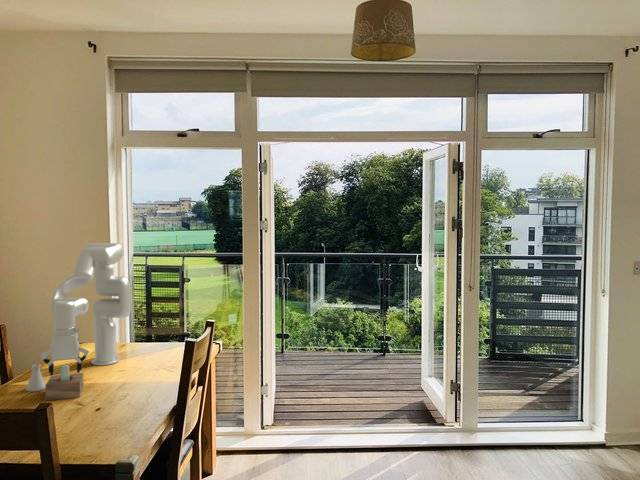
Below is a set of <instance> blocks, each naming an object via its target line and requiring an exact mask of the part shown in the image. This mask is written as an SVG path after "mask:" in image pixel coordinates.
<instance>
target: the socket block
mask: <svg viewBox="0 0 640 480" xmlns="http://www.w3.org/2000/svg"><path fill="white" fill-rule="evenodd" d="M69 378H70V380H68V381H60V374H53V375H50V377H49V379H48V380H47V382H46V383H45V384H46V388H45V401H52V400H61V399H62V400H63V399H73V398H80V397H81V394H82V392H83V389H84V372H79V373H77V372H76V373H69Z"/></svg>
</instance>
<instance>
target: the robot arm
mask: <svg viewBox="0 0 640 480" xmlns="http://www.w3.org/2000/svg"><path fill="white" fill-rule="evenodd" d="M123 256H124V247H123V245H121V244H120V243H118V242H117V243H116V242H115V243H113V242H90V243H87V244H85V246H84V248H82V249H81V250H80V252H79V254H78V257H77V260H76V264H75V266H74V269H73V272H72V274H71V275H70V276H69V277H67V278H66V279H64V280H63V281H62V282H61V283H60V284H58V286H57V287H56V288H55V290H54V293H53V295H52V297H51V301H50V305H49V307H50V312H51V313H52V314H53V319H54V320H53V325H54V327H53V329H54V330H53V332H54V333H53V335H52V337H51V343H50V349H49V350H47V351H45V352H43V353H41V354H40V358H41V359H42V360H43V362H44V363H45V364H47V366H48V373H49V374H50V376H53V375H54V374H55V373H54V372H55V370H54V367H55V364H54V362H55V361H67V360H68V361H69V360H75V361H76V362H77V363H76V373H81V372H80V371H82V369H83V368H82V367H83V366H82V365H83V364H82V363H83V361H84V360H86V358H87V357H88V354H89V352H90V351H89V350H87V349H85V348H82V347H80V339H79V334H78V332H80V327H77V326H76V317H80V316H83V315H85V314H86V313H87V312H88V310H89V308H90V303H89V301H88V299H86V298H84V297H79V296H78V297H77V296H76V297H75V296H72V297H71V296H70V297H69V296H67V295H68V294H69V293H70V292H72V291H75V290H76V289H79V288H81V287H84V286H87V285H89V284H91V283H92V282H93V280H94V287H95V293H96V294H97V295H98V296H103V298H97V299H96V300H94V301H93V303H92V314H93V322H94V358H93V359H91V364H92V365H93V366H110V365H114V364H117V363H118V362H120V357H118V356H117V337H116V336H117V334H116V333H117V328H116V326H117V325H116V323H115V321H114V320H113V319H120V318H121V319H123V318H128V317H129V316H130V314H131V312H132V311H131V309H132V301H131V300H132V298H131V282H130V280H129V279H128V278H127V277H126V276H115V272H114V270H115V269H114V265H115V264H116V263H118V262H120V261H121V260H122V259H123ZM66 296H67V297H66ZM112 297H117V298H112ZM80 353H82V354H83V355H82V356H80V355H81V354H80ZM48 355H50V359H49V358H48V357H47V356H48Z"/></svg>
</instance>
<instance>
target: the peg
mask: <svg viewBox="0 0 640 480" xmlns="http://www.w3.org/2000/svg"><path fill="white" fill-rule="evenodd" d="M69 374H70V365H65V364H64V365H61V366H59V375H60V381H68V380H70V378H69Z"/></svg>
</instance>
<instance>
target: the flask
mask: <svg viewBox="0 0 640 480" xmlns="http://www.w3.org/2000/svg"><path fill="white" fill-rule="evenodd" d="M41 366H42V364H38V363H37V364H33V365H31V366H30V367H31V368H32V369H31V375H30V378H29V380H28V383H27V385H26V388H25V391H27V392H34V393H35V392H39V391H44V390H46V384H47V383H46V382H45V380H44V378H43V375H42V373H41Z"/></svg>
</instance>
